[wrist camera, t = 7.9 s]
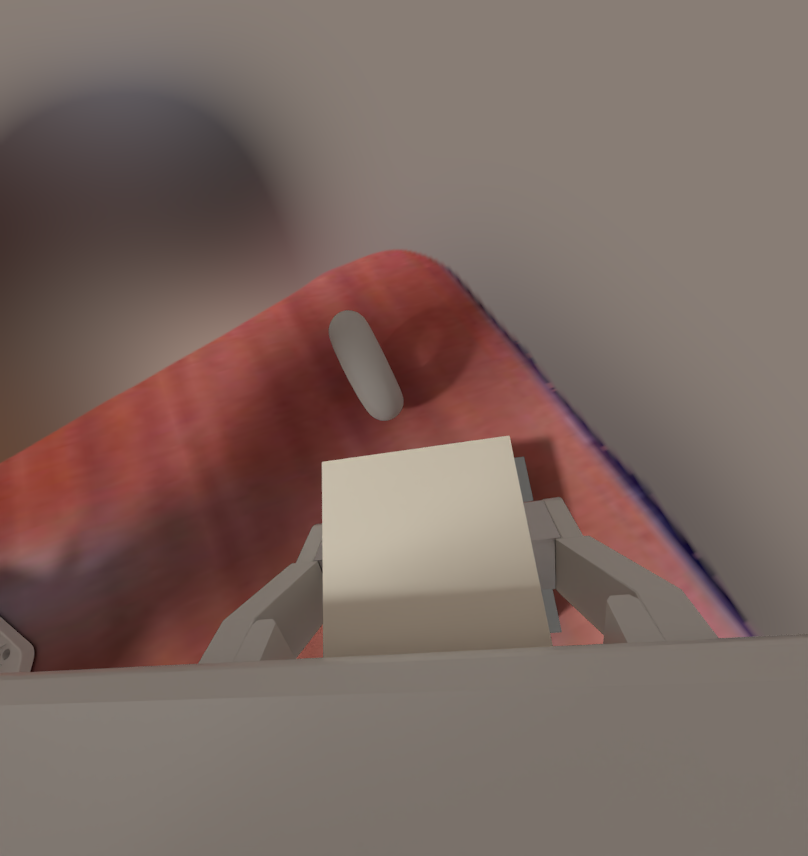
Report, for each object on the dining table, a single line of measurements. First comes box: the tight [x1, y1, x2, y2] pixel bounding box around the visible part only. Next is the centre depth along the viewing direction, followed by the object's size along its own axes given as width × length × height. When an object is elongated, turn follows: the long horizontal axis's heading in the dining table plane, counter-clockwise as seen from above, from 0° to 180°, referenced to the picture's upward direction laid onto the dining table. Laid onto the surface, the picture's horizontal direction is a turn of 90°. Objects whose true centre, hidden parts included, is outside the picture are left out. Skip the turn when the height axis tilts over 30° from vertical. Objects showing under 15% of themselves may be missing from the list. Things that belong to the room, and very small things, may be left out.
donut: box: [329, 310, 404, 421], centre depth 29 cm, size 10×4×10 cm, turn 25°
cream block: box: [322, 436, 553, 658], centre depth 11 cm, size 4×4×8 cm
